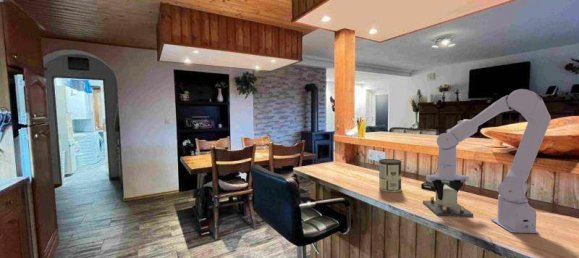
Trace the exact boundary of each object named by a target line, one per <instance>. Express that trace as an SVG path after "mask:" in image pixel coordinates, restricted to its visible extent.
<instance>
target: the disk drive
mask: <svg viewBox="0 0 579 258" xmlns="http://www.w3.org/2000/svg"><path fill="white" fill-rule="evenodd" d="M441 182H442V183H443V184H444V185H447V186H449V187H450V183H449V181H441ZM420 187H421V189H422V190H427V191H432V192H433V191H434V192H436V189H435V187H434V185H433V183H432V181H427V180H426V181H425V182H422V183H421V186H420Z"/></svg>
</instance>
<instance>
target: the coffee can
mask: <svg viewBox="0 0 579 258" xmlns="http://www.w3.org/2000/svg"><path fill="white" fill-rule="evenodd" d="M378 168H379V169H378V175H379V176H378V177H379V178H378V180H379V181H378V183H379V184H378V185H379V186H378V189H379V190H381V191H384V192H386V193H399V192H401V191H402V160H400V159H397V158H396V159H394V158H381V159H378Z"/></svg>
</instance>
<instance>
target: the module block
mask: <svg viewBox="0 0 579 258" xmlns="http://www.w3.org/2000/svg"><path fill="white" fill-rule="evenodd" d="M435 201H438V202H439V203H441V204H442V205H443V206H446V207H457V204H458V193H457V191H456V190H454V189H452V188H451V187H449V186H447V185H444V187H443V198H442V200H439V199H438V196H437V192H436V191H435Z"/></svg>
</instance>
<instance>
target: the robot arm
mask: <svg viewBox="0 0 579 258" xmlns="http://www.w3.org/2000/svg"><path fill="white" fill-rule="evenodd" d="M514 110H515V111H516V112H518V113H520V114H521V116H522V117H523V118H524V119H525V120H526V121H527V124H526V126H525V129H524V132H523V134H522V137H521V140H520V142H519V145H518V147H517V151H516V152H515V155H514V158H513V161H512V163H511V165H510V168H509V170H508V172H507V174H506V177H505V179H503V181H502V182H500V183H499V185H498V187H497V193H498V195H497V197H498V198H497V217H496V218H495V217H492V218H490V220H491V221H492V222H494V223H495V224H497V225H499V226H500V227H502V228H503V229H505V230H506V231H509V233H519V234H520V233H521V234H523V233H525V234H539V231H538V230H537V228H536V227H537V211H536V209H534V207H532V206H531V205H530V204H529V202H528V201H529V199H528V198H527V196H526V195H525V193H527V192H528V190H529V185H528V179H529V175H530V172H531V171H532V167H533V165H534V163H535V160H536V158H537V156H538V153H539V150H540V148H541V146H542V143H543V142H544V141H543V140H544V138H545V136H546V133H547V130H548V129H549V128H548V127H549V126H550V123H551V120H552V118H551V114H550V113H549V111H548V109H547V106H546V104H545V102H544V100H543V98H542V96H540V95H538V93H536V92H535V91H533V90H529V89H526V88H525V89H524V88H519V89H516V90H514V91H512V92H510V93H509V95H508V94H507V95H505V96H503V97H501V98H499V99H498V100H496V101H495V102H493V103H492V104H491V105H489V106H488V107H486V108H485V109H484V110H482V111H481V112H479V113H478V114H477V115H475V116H474V117H473V118H471V119H467V118H466V119H463V120H461V119H459V121H457V122H456V123H457V124H456V125H455V126H452V127H451V128H448V129H446V132H443V133H440V134H439V135H438V136H437V138H436V144H437V146H438V167H437V168H438V169H437V170H438V172H437V173H438V174H436V173H435V174H427V175H425V180H426V181H432V183H433V185H434V187H435V189H436V191H435V193H436V192H437V196H438V199H439V200H442V198H443V187H444V184H443V183H442V182H441V181H449V183H450V187H451V188H452V189H454V190H456V191H457V194H458V193H459V191H460V189H461V188H462V187H463V185H464V184H463V182H469V179H470V177H469V176H468V175H466V174H463V175H461V174H457V146H458V145H459V143H462V142H463V141H465V140H466V139H469V137H471V136H473V135H474V134H476V133H477V132H478V128H479V126H481V125H483V124H484V123H486V122H487V121H489V120H491V119H493V118H494V117H496V116H498V115H499V114H501V113H504V112H509V111H514Z"/></svg>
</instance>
